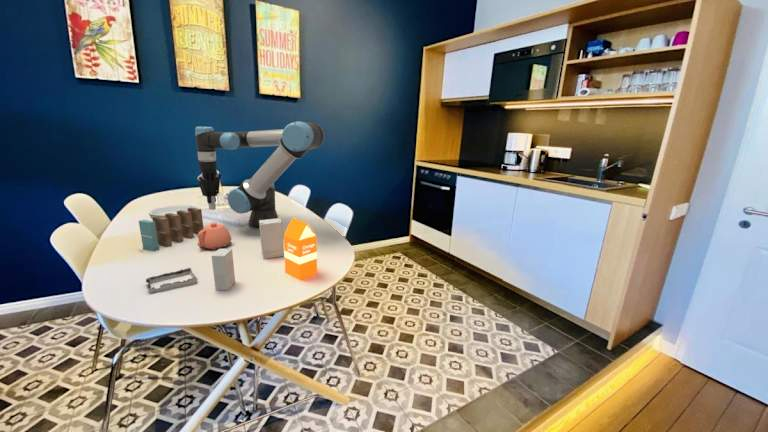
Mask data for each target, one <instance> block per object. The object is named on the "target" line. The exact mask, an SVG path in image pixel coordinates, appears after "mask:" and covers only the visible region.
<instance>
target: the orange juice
mask: <svg viewBox="0 0 768 432" xmlns="http://www.w3.org/2000/svg"><path fill="white" fill-rule="evenodd" d="M317 241H318V239H317V235H316V234H315V232H314V231H313V229H312V228H311V226H310V225H309V223H308V222H306V221H302V220H300V219H298V218H295V217H292V218H291V219H290V222H289V224H288V226H287V227H286V229H285V231H284V233H283V247H284V256H283V257H284V272H285V273H286V274H288V275H289V276H291V277H293V278H295V279H297V280H298V281H302V280H304V279H307V278H310V277H311V276H314V275H317V274H318V250H317V249H318V245H317V243H318V242H317Z"/></svg>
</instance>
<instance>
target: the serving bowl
mask: <svg viewBox="0 0 768 432" xmlns="http://www.w3.org/2000/svg"><path fill="white" fill-rule="evenodd" d="M187 208H198V207H197V206H196V205H192V204H175V205H165V206H161V207H157V208H153V209H151V210H149V212H148V216H149V217H150V218H151V221H153V219H152V217H156V216H159V217H164V218H165V214H168V213H172V214H177V211H179V210H182V211H188V209H187Z"/></svg>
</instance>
